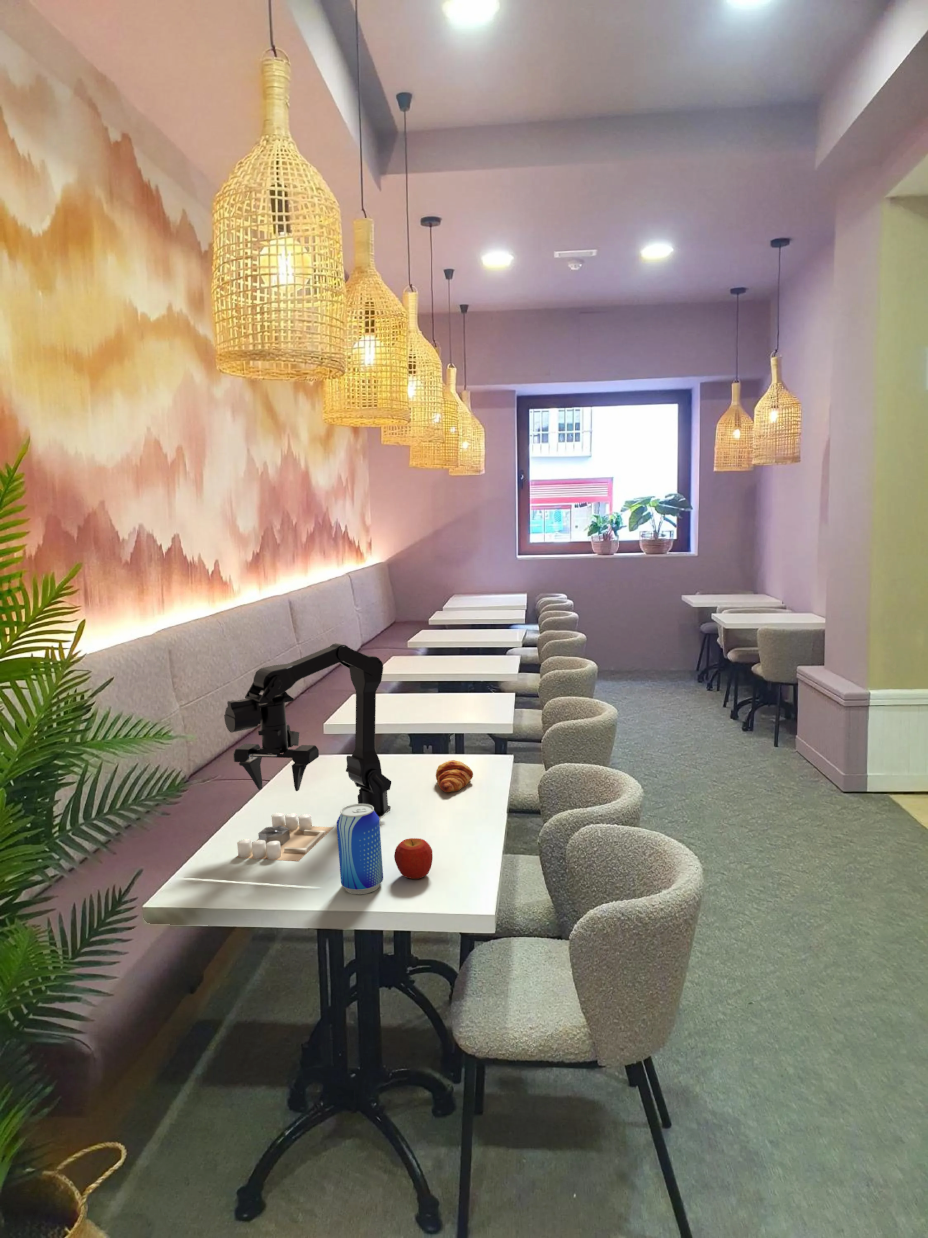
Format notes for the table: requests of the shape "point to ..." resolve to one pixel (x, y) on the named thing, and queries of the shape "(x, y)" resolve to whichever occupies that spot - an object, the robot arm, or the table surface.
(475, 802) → the table surface
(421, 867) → the apple
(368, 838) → the beer can
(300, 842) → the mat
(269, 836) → the nut
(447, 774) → the croissant
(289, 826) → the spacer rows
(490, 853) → the table surface
